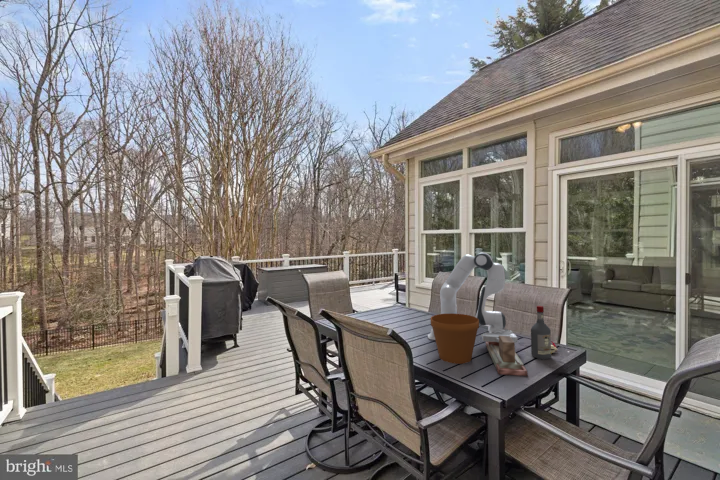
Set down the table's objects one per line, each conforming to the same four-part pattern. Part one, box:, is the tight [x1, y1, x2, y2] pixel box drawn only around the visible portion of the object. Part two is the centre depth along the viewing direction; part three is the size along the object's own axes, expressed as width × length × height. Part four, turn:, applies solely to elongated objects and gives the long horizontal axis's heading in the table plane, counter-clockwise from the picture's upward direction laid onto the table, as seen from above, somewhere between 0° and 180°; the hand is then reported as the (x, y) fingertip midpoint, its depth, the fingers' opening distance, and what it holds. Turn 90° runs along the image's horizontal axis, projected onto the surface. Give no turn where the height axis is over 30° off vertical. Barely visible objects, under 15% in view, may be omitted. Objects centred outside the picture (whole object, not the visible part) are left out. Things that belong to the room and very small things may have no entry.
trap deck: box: [485, 341, 528, 377], centre depth 197 cm, size 14×48×4 cm, turn 167°
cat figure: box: [551, 340, 559, 355], centre depth 213 cm, size 10×9×25 cm
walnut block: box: [499, 336, 516, 363], centre depth 189 cm, size 6×12×11 cm, turn 167°
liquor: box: [530, 305, 552, 360], centre depth 198 cm, size 9×9×30 cm
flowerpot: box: [430, 313, 480, 365], centre depth 200 cm, size 28×28×24 cm
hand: (501, 341), depth 202 cm, fingers closed
